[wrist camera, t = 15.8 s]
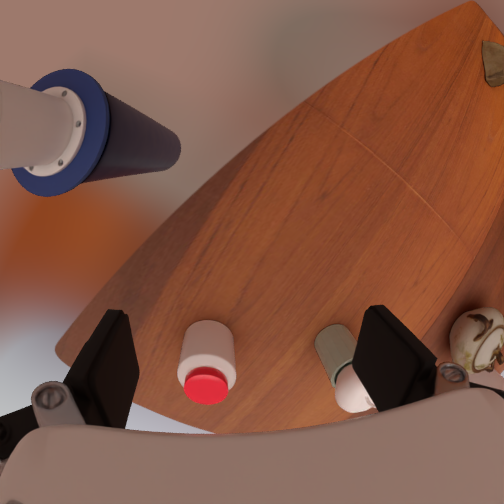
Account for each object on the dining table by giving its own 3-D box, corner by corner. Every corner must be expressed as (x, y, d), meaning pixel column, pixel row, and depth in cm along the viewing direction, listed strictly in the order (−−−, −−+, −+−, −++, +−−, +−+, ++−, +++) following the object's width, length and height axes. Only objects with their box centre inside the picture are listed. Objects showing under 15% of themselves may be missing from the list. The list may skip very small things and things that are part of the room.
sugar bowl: (429, 322, 46) (475, 364, 32) (477, 274, 44) (527, 304, 30) (445, 370, 52) (478, 408, 37) (486, 330, 50) (522, 360, 36)
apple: (381, 359, 36) (407, 394, 29) (353, 393, 38) (372, 430, 30) (348, 347, 35) (372, 386, 27) (318, 384, 36) (335, 426, 29)
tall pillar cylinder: (485, 369, 56) (532, 418, 32) (459, 394, 57) (503, 448, 33) (483, 351, 53) (537, 404, 29) (456, 379, 54) (506, 438, 30)
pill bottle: (216, 311, 41) (215, 358, 30) (243, 347, 43) (249, 397, 33) (173, 333, 41) (161, 381, 31) (202, 366, 44) (198, 416, 33)
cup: (311, 357, 45) (327, 393, 36) (317, 325, 43) (336, 360, 35) (346, 353, 46) (366, 386, 37) (353, 322, 44) (377, 354, 35)
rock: (503, 101, 32) (519, 81, 29) (514, 76, 24) (529, 58, 21) (463, 66, 35) (481, 50, 33) (468, 39, 28) (487, 25, 25)
